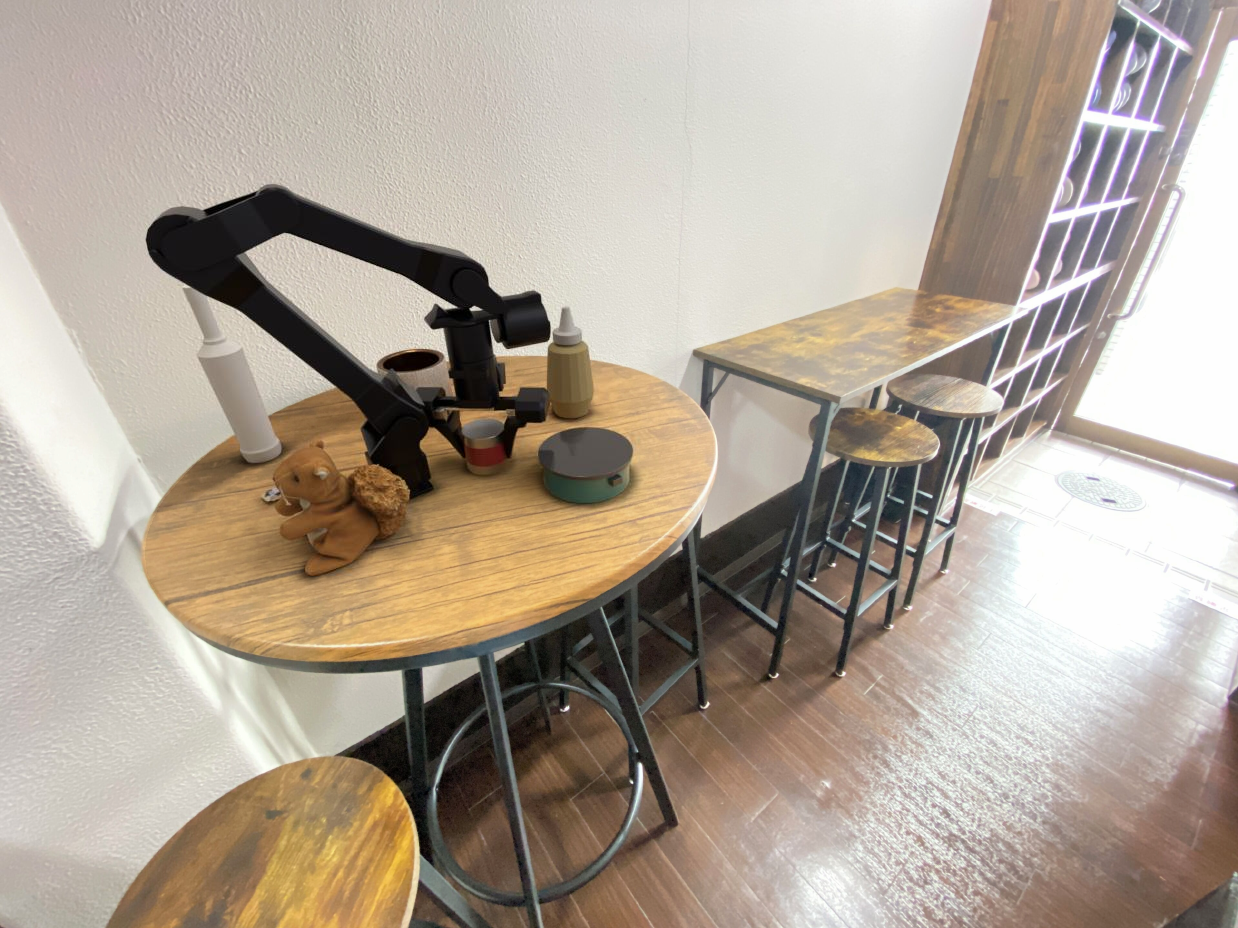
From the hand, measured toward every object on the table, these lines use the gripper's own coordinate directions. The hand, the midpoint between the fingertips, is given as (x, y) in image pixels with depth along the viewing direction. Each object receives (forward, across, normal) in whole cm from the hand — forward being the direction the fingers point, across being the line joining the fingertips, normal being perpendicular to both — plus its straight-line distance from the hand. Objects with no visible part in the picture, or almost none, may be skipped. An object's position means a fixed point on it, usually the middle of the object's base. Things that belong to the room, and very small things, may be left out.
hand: (487, 457), depth 77 cm
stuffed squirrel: (+1, +12, +17) cm, 21 cm away
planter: (+1, +15, -16) cm, 22 cm away
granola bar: (+1, +26, +7) cm, 26 cm away
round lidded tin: (+1, -15, +3) cm, 15 cm away
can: (+1, 0, 0) cm, 1 cm away
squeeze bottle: (+1, -11, -17) cm, 20 cm away
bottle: (+1, +35, -2) cm, 35 cm away
